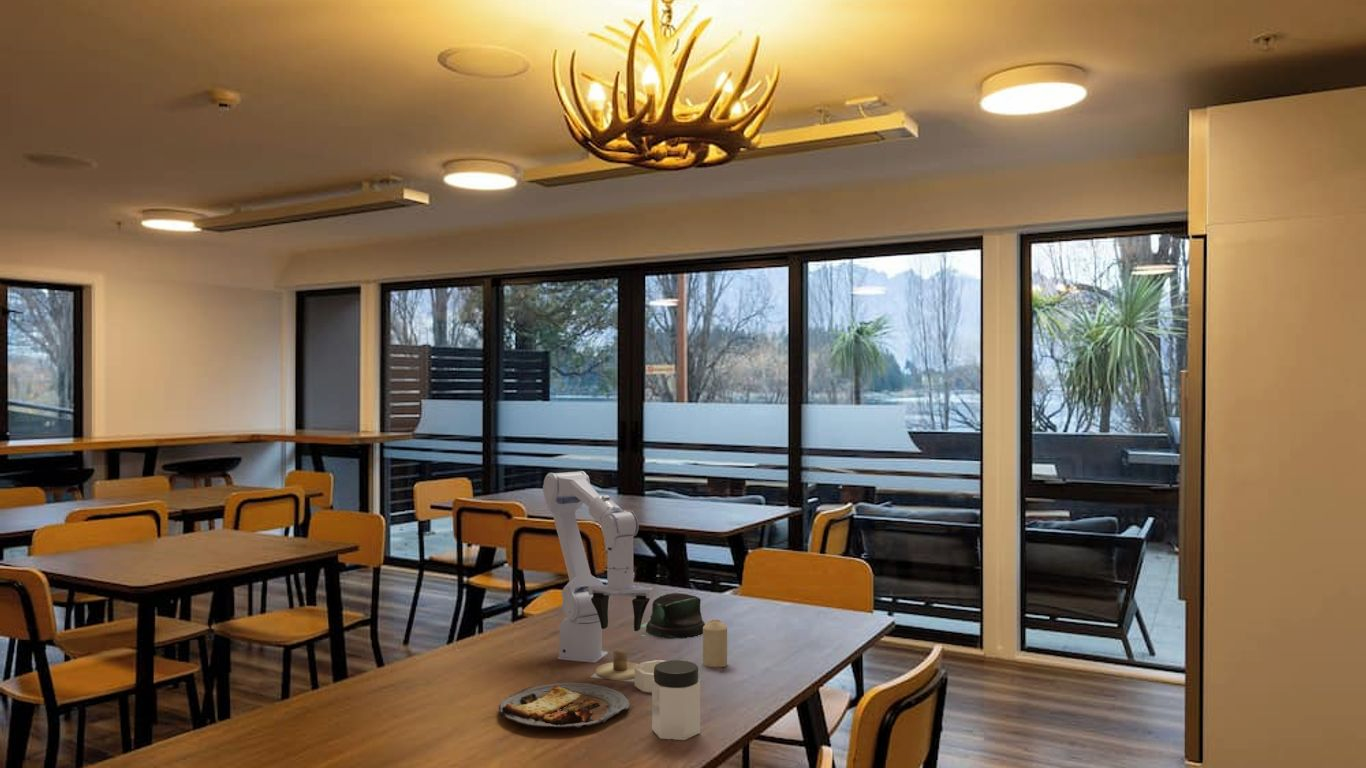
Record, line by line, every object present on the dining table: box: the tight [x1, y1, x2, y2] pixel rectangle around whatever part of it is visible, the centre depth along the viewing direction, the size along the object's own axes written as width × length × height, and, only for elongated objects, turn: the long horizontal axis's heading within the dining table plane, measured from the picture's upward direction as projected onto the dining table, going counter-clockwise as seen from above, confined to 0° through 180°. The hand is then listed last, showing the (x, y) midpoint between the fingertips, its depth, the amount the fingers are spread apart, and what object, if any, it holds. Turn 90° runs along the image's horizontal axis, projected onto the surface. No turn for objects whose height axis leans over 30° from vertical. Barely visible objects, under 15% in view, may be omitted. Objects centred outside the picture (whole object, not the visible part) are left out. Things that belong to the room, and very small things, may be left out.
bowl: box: [634, 659, 666, 693], centre depth 195 cm, size 10×10×4 cm
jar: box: [651, 659, 701, 741], centre depth 170 cm, size 9×8×12 cm
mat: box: [590, 672, 635, 683], centre depth 203 cm, size 10×10×1 cm
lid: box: [595, 648, 640, 681], centre depth 203 cm, size 10×10×5 cm
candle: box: [702, 619, 728, 668], centre depth 210 cm, size 6×6×10 cm
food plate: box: [498, 682, 631, 730], centre depth 180 cm, size 25×23×4 cm
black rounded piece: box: [640, 592, 706, 639], centre depth 240 cm, size 20×20×9 cm
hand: (620, 629), depth 203 cm, fingers open, 7 cm apart
